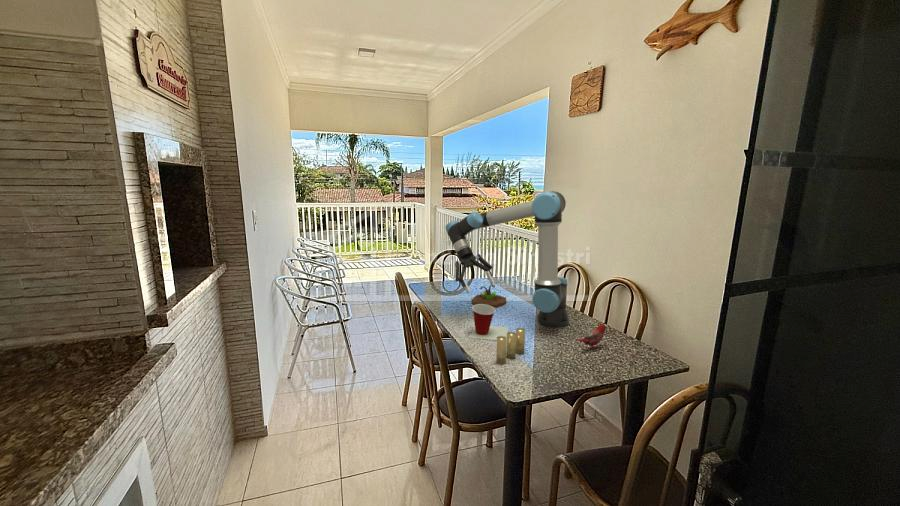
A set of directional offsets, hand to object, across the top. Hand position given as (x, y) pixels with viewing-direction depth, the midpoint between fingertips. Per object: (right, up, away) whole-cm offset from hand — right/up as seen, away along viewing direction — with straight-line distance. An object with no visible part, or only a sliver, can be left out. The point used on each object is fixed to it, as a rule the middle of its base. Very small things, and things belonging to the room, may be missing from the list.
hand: (480, 288), depth 178 cm
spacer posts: (+9, -25, -31) cm, 41 cm away
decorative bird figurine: (+43, -23, -25) cm, 55 cm away
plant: (+8, -13, +38) cm, 41 cm away
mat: (+3, -20, -7) cm, 22 cm away
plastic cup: (0, -20, -8) cm, 22 cm away
